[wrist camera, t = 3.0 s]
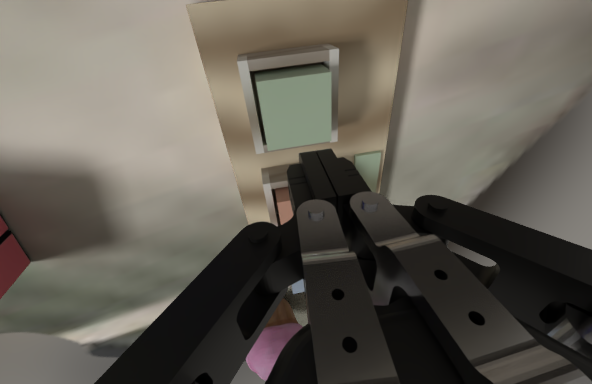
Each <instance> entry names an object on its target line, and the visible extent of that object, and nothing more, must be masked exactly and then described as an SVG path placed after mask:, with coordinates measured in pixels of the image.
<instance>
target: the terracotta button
mask: <svg viewBox="0 0 592 384" xmlns="http://www.w3.org/2000/svg"><path fill="white" fill-rule="evenodd" d="M275 193H276V199H277V205H278V211H279V217H280V222H281V225H282V224H284V223H286V222H287V221H289V220H290V219H291V218H292V217H293V211H292V207H291V202H290V198H289V189H288V186H287V187H282V188H276V189H275Z"/></svg>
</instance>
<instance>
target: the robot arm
mask: <svg viewBox="0 0 592 384" xmlns="http://www.w3.org/2000/svg"><path fill="white" fill-rule="evenodd" d="M287 181H288V189H289V198H290V202H291V207H292V211H293V217H292V218H291V219H290V220H289V221H287V222H286V223H284V224H282V225H280V226H275V225H274V224H272V223H269V222H255V223H252V224H250V225H248V226H246V227H245V228H243V229H242V230H241V231H240V232H239V233H238V234H237V235H236V236H235V238H234V239H233V240H232V241H231V242H230V243H229V244H228V245H227V246H226V247H225V248H224V249H223V250H222V251H221V252H220V253H219V254H218V255H217V256H216V257H215V258H214V259H213V260H212V261H211V263H210V264H209V265H208V266H207V267H206V268H205V269H204V270H203V271H202V272H201V273H200V274H199V275H198V276H197V277H196V278H195V279H194V280H193V281H192V282H191V283H190V284H189V285H188V286H187V288H186V289H185V290H184V291H183V292H182V293H181V294H180V295H179V296H178V297H177V298H176V299H175V300H174V301H173V302H172V303H171V304H170V305H169V306H168V307H167V308H166V309H165V310H164V311H163V313H162V314H161V315H160V316H159V317H158V318H157V319H156V320H155V321H154V322H153V323H152V324H151V325H150V326H149V327H148V328H147V329H146V330H145V331H144V332H143V333H142V334H141V335H140V336H139V338H138V339H137V340H136V341H135V342H134V343H133V344H132V345H131V346H130V347H129V348H128V349H127V350H126V351H125V352H124V353H123V354H122V355H121V356H120V357H119V358H118V359H117V360H116V362H115V363H114V364H113V365H112V366H111V367H110V368H109V369H108V370H107V371H106V372H105V373H104V374H103V375H102V376H101V377H100V378H99V379H98V380H97V381H96V382H95V383H94V384H230V383H231V381H232V379H233V378H234V376H235V375H236V373H237V371H238V370H239V368H240V366H241V365H242V363H243V362H244V360H245V358H246V357H247V355H248V354H249V352H250V350H251V349H252V347H253V345H254V344H255V342H256V341H257V339H258V337H259V336H260V334H261V333H262V331H263V329H264V328H265V326H266V324H267V323H268V321H269V320H270V318H271V316H272V315H273V313H274V312H275V310H276V308H277V307H278V305H279V303H280V302H281V300H282V299H283V297H284V295H285V294H286V292H287V289H288V287H289V286H291V285H292V284H294V283H296V282H298V281H300V280H302V279H303V282H304V291H305V299H306V308H307V317H308V324H307V325H306V326H304V327H303V328H301V329H300V330H299V331H298V332H297V333H296V334H294V335H293V336H292V338H291V339H290V340H289V341H288V342H287V343H286V345H285V346H284V348H283V349H282V351H281V352H280V354H279V356H278V358H277V360H276V362H275V364H274V366H273V368H272V370H271V372H270V374H269V376H268V378H267V380H266V382H265V384H592V250H591V249H588V248H585V247H582V246H580V245H577V244H574V243H571V242H568V241H566V240H562V239H560V238H557V237H554V236H551V235H548V234H546V233H543V232H540V231H537V230H534V229H532V228H529V227H526V226H523V225H520V224H517V223H515V222H512V221H509V220H506V219H503V218H501V217H498V216H495V215H492V214H489V213H487V212H484V211H481V210H478V209H475V208H472V207H470V206H467V205H464V204H461V203H458V202H456V201H453V200H450V199H447V198H444V197H441V196H437V195H425V196H421V197H419V198H418V199H417V200H416V201H415V205H414V206H402V205H392V204H391V203H390V202H389V200H388V199H387V198H386V197H384V196H383V195H381V194H378V193H375V192H372V191H371V190H370V188H369V187H368V185H367V184H366V182H365V181H364V179H363V178H362V176H361V175H360V173H359V172H358V170H356V167H355V166H354V165H353V163H352V162H351V161H349V160H348V159H346V158H344V157H341V158H337V157H336V155H335V153H334V152H333V150H332V149H331V148H330V149H323V150H316V151H309V152H302V153H299V164H293V165H289V167H288V170H287ZM449 241H452V242H454V243H456V244H458V245H460V246H463V247H465V248H467V249H470V250H472V251H474V252H476V253H479V254H481V255H483V256H485V257H488V258H490V259H492V260H493V261H495V262H496V263H497V264H496V265H495V266H492V267H486V266H482V265H480V264H478V263H476V262H473V261H471V260H469V259H467V258H465V257H463V256H461V255H458V254H456V253H454V252H452V251H451V250H450V249H449V248H448V247H447V245H448V242H449Z"/></svg>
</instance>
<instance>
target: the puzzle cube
mask: <svg viewBox="0 0 592 384" xmlns="http://www.w3.org/2000/svg"><path fill="white" fill-rule="evenodd" d="M8 229H9V228H8V227H7V225H6V223H5V222H4V220H3V219H2V217H1V216H0V299H1V298H2V296H3V295H4V294H5V293H6V292H7V290H8V289H9V288H10V287H11V286H12V284H13V283H14V282H15V281H16V279H17V278H18V277H19V276H20V275H21V273H22V272H23V271H24V270H25V269H26V267H27V266H28V265H29V264H30V263H31V262H30V260H29V259H28V257H27V256H26V254H25V253H24V251H23V250H22V248H21V247H20V245H19V243H18V242H17V240H16V239H15V237H14V236H13V234H12V233H11V231H7V230H8Z"/></svg>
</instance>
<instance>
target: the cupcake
mask: <svg viewBox="0 0 592 384" xmlns="http://www.w3.org/2000/svg"><path fill="white" fill-rule="evenodd" d="M301 328H303V327H302V326H301V325H300V324H298V322H297V320H296V318H295V316H294V313H293V310H292V308H291V306H290V304H289V303H288V302H287V301H286V300H285V299H284V298H283V299H282V300H281V302H280V303H279V305H278V307H277V308H276V310H275V312H274V313H273V315H272V316H271V318H270V320H269V321H268V323H267V324H266V326H265V328H264V329H263V331H262V333H261V334H260V336H259V337H258V339H257V341H256V342H255V344H254V345H253V347H252V349H251V350H250V352H249V354H248V355H247V357H246V361H247V364H248V366H249V368H250V369H251V370H252V371H254V372H255V373H257V374H258V375H259V377H260V378H261V379H263V380H267V378H268V376H269V374H270V372H271V370H272V368H273V366H274V364H275V362H276V360H277V358H278V356H279V354H280V352H281V351H282V349H283V348H284V346H285V345H286V343H287V342H288V341H289V340H290V339H291V338H292V336H293V335H294V334H296V333H297V332H298V331H299V330H300V329H301Z"/></svg>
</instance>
